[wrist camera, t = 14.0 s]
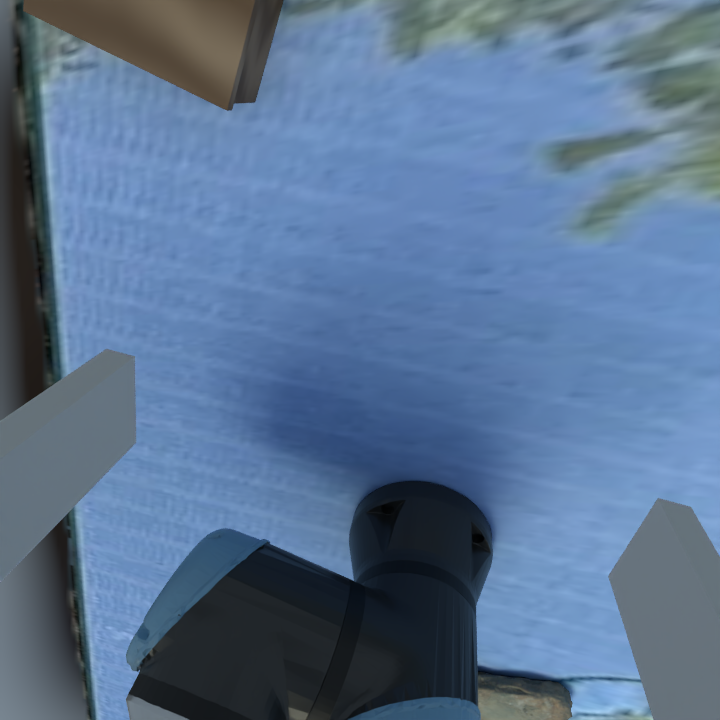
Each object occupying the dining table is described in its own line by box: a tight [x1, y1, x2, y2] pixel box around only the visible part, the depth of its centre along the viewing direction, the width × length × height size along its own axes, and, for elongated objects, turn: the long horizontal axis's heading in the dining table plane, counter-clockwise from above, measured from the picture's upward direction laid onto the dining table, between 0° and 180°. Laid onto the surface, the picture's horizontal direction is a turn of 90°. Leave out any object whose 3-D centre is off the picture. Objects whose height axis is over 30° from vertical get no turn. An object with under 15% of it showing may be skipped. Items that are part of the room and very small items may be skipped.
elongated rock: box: [478, 672, 572, 720], centre depth 66 cm, size 35×5×10 cm
